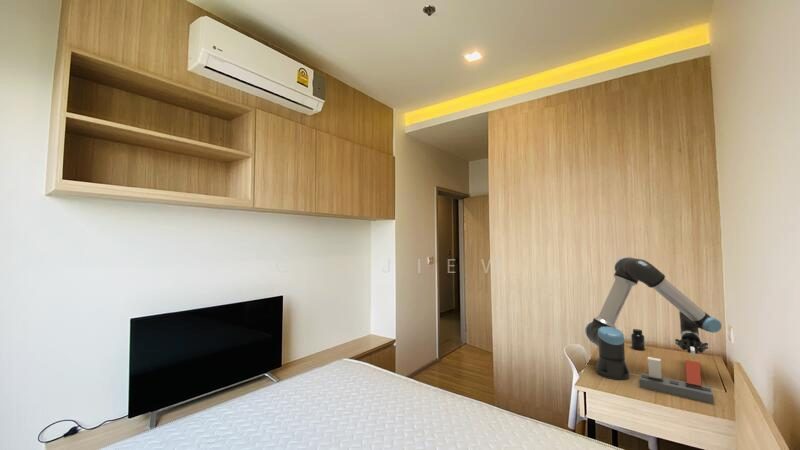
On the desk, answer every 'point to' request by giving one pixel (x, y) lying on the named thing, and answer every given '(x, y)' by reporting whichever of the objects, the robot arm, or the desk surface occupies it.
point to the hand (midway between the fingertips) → (693, 353)
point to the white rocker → (654, 367)
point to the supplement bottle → (637, 340)
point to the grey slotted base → (677, 388)
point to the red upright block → (693, 373)
